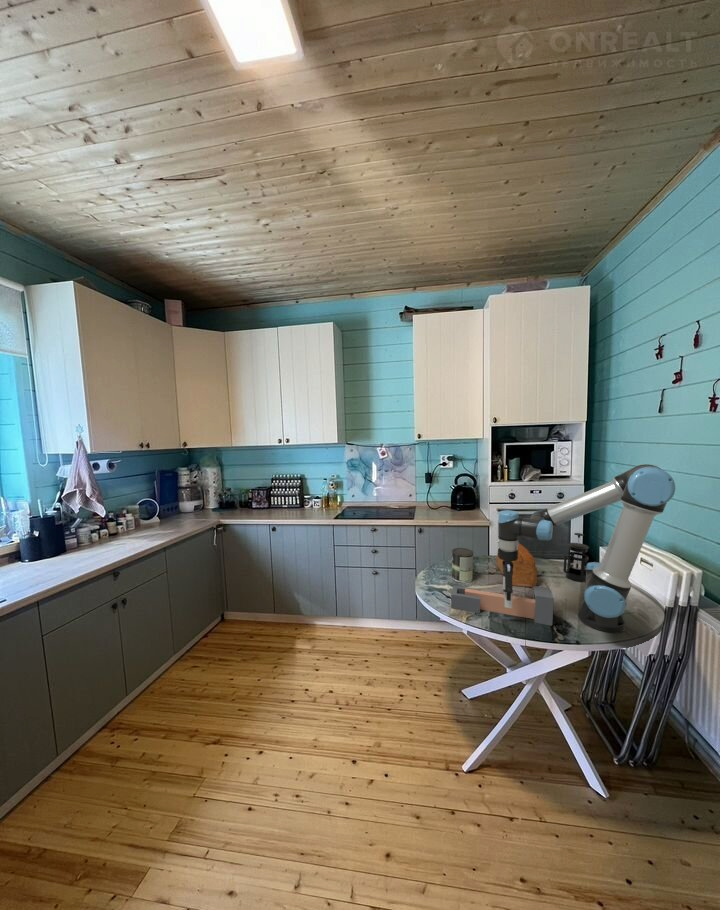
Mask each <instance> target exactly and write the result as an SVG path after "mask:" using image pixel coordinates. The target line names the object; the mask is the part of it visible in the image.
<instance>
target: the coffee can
mask: <svg viewBox="0 0 720 910" xmlns="http://www.w3.org/2000/svg"><path fill="white" fill-rule="evenodd" d="M451 554H452V556H451V579H452V580H453V581H454V582H457V583H461V584H468V583H471V582H472V581H473V579H474V578H473V567H474V565H473V564H474V551H473V550H471V549H469V548H466V547H455V548H453V549H452V550H451Z"/></svg>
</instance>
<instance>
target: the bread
mask: <svg viewBox="0 0 720 910" xmlns="http://www.w3.org/2000/svg"><path fill="white" fill-rule="evenodd" d="M502 561H504V560H502V559H500V558H499V557H498V552H497V553H496V566H497V568H498V569H499V571H500V573H501V575H503V565H502ZM512 562H513V575H512V586H515V587H527V588H529V587H530V588H533V586H537V583H538V579H537V577H538V572H537V567H536V559H535V558H534V556H533V555H532V554H531V552H530V551H529V550H528V549H527V548H526V547H525V546H524V545H522V544H521V543H520V542H519V541H518V559H517V560H516V561H512ZM503 577H505V576H503Z"/></svg>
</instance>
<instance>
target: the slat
mask: <svg viewBox="0 0 720 910" xmlns="http://www.w3.org/2000/svg"><path fill="white" fill-rule="evenodd" d="M465 595H471V596H477V597H480V611H487V612H492V613H499V614H504V615H510V616H515V617H521V618H527V619H532V620H534V617H535V599H533V598H529V597H523V596H515V595H512V608H507V607H505V593H503V594H501V593H496V592H491V591H490V592H489V591H485V590H481V591H479V590H473V589H466V588H465Z"/></svg>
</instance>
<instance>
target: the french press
mask: <svg viewBox="0 0 720 910" xmlns="http://www.w3.org/2000/svg"><path fill="white" fill-rule="evenodd" d="M573 534H574V535H575V536H577V539H578V540H577V542H569V543H567V546H568V550H570V551H569V552H567V554H564V557H563V568H562V569H563V573H565V577H566V578H567V579H568V580H570V581H573V582H576V583H577V582H578V583H586V567H587V564H588V561H589V556H588V555H587V554H585V553H588V551H589V549H590V547H589V545H587V544H584V543H580V538H581V537H583V536H585V534H584V533H580V532H574V533H573ZM575 555H577V557H575ZM579 556H581V557H584V558H581V557H579ZM575 561H576V562H575ZM579 562H580V563H579Z"/></svg>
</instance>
